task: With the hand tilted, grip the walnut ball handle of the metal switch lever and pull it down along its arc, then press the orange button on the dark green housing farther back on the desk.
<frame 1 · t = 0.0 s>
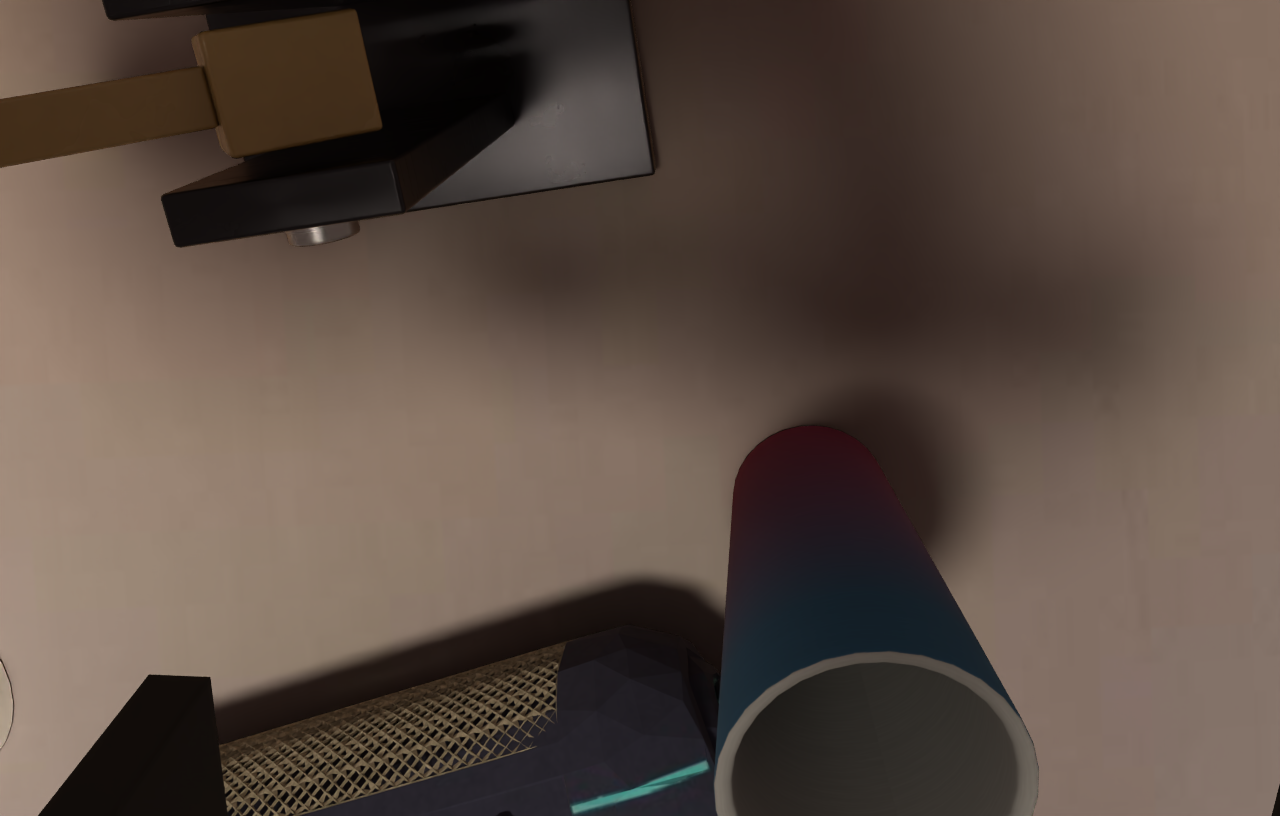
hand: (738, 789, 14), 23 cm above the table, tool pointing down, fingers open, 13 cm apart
portable speaker: (435, 750, 43), on the table
cup: (808, 492, 39), on the table
switch bracket: (432, 46, 34), on the table
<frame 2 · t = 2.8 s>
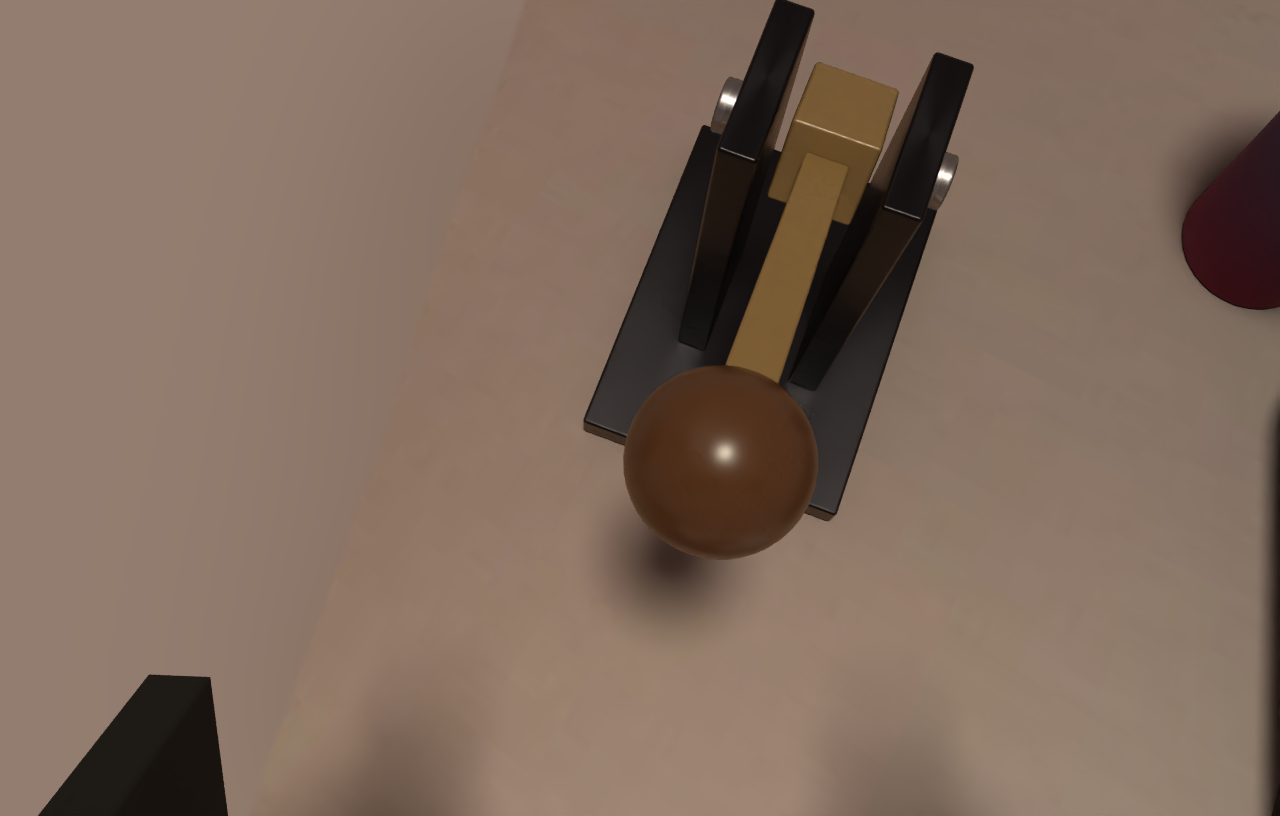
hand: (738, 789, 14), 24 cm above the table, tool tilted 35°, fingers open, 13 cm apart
switch lever: (782, 285, 25), point 15 cm above the table, hinge at 26.0°
cup: (1245, 248, 43), on the table
switch bracket: (761, 322, 41), on the table
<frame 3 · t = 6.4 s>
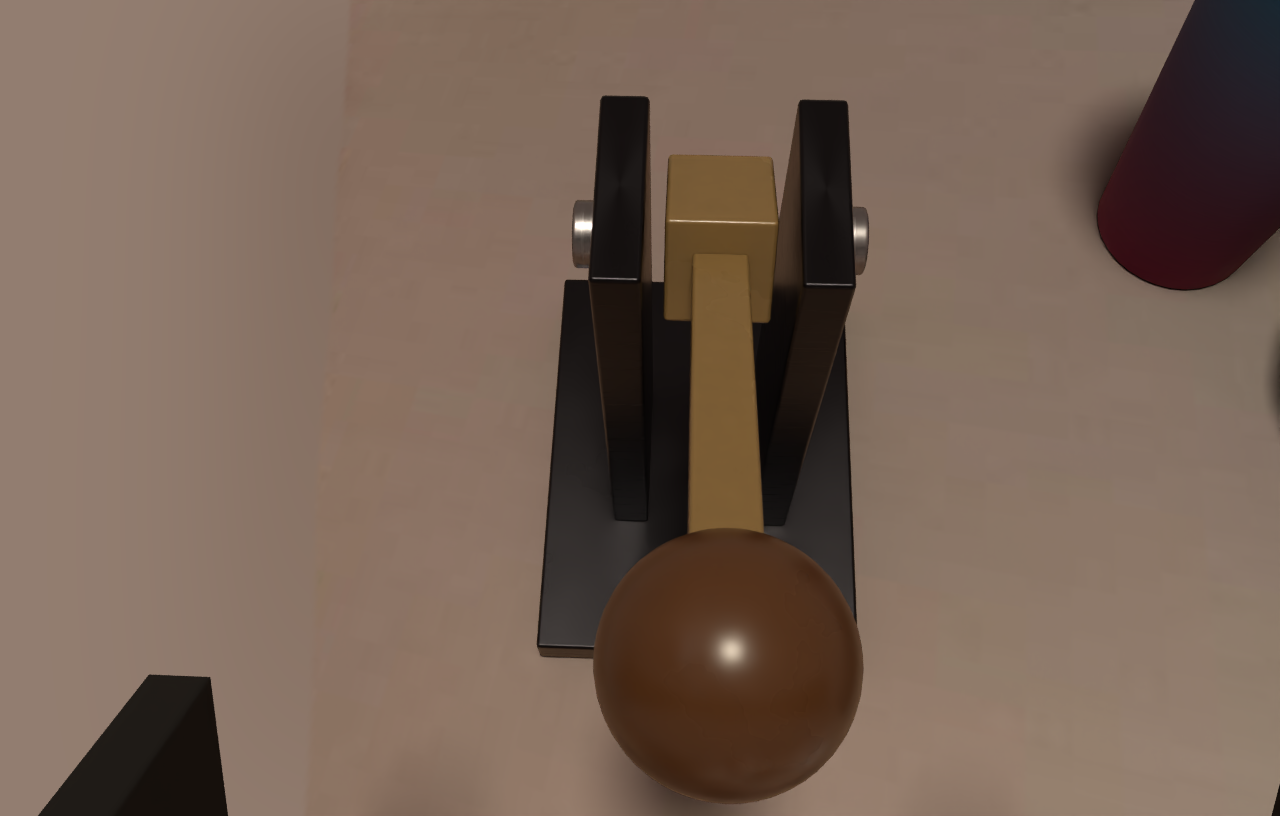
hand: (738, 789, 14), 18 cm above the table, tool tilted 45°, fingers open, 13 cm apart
switch lever: (722, 411, 20), point 15 cm above the table, hinge at 26.0°
cup: (1169, 229, 39), on the table
switch bracket: (699, 468, 36), on the table
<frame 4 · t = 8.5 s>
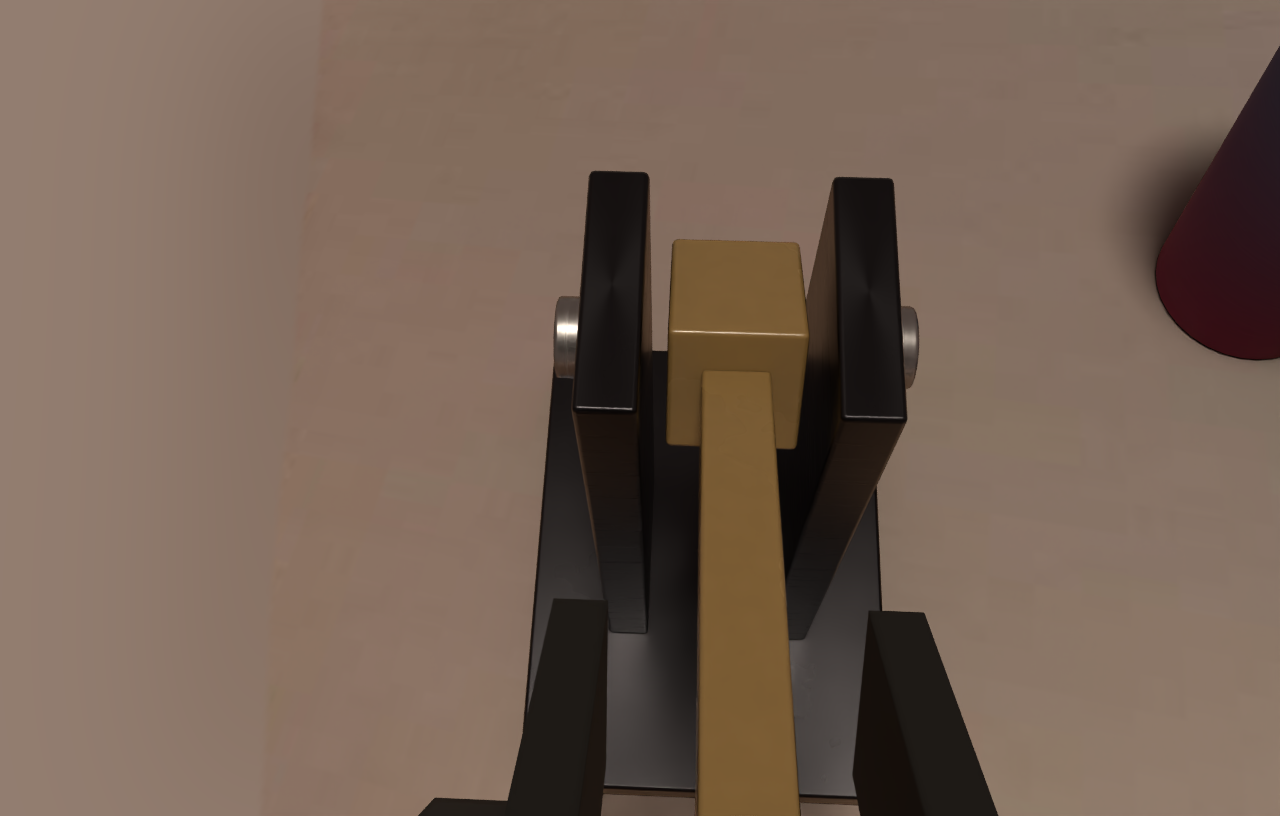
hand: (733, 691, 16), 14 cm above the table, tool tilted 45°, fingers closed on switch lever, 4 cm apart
switch lever: (740, 596, 15), point 15 cm above the table, hinge at 26.0°, touching gripper
cup: (1237, 289, 35), on the table
switch bracket: (706, 567, 31), on the table
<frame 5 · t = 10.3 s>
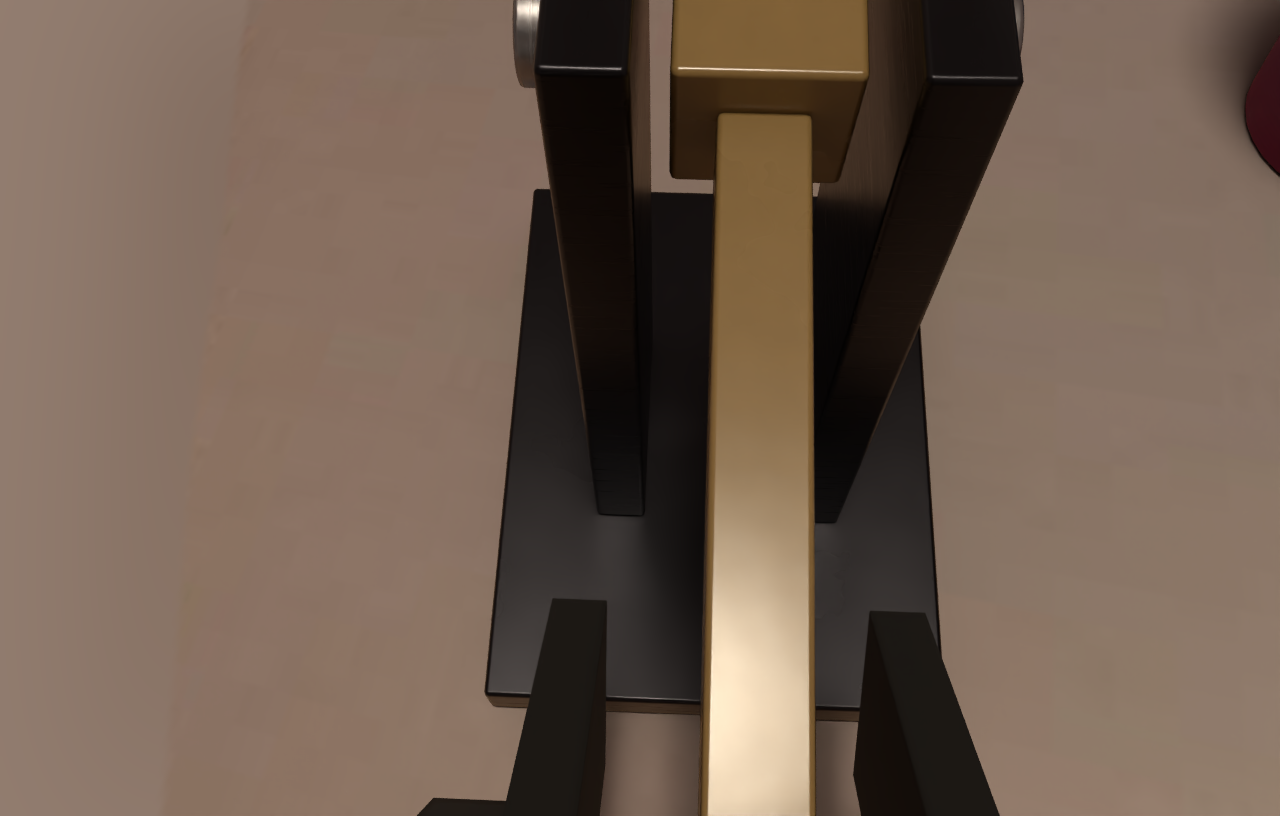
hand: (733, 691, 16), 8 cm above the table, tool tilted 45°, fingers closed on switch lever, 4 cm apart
switch lever: (758, 483, 12), point 12 cm above the table, hinge at -6.5°, touching gripper
switch bracket: (715, 444, 26), on the table
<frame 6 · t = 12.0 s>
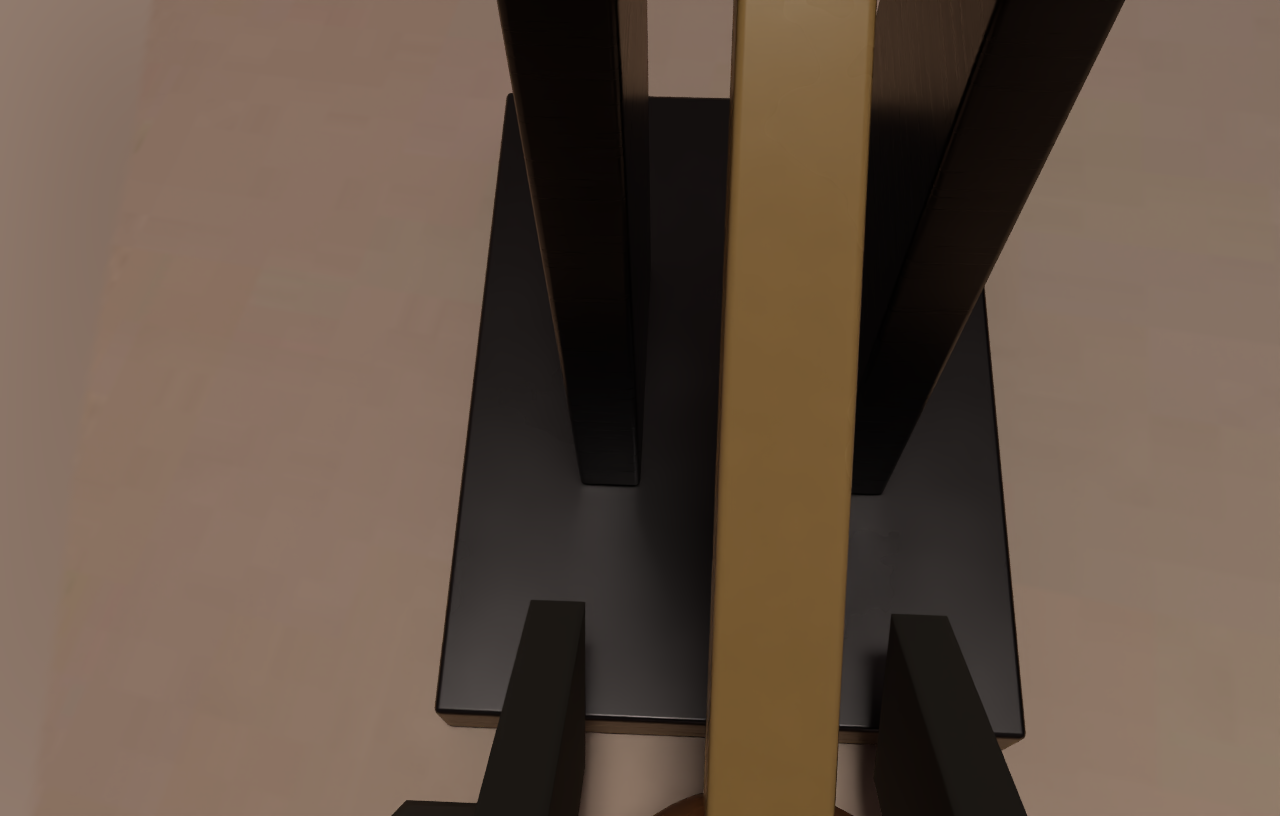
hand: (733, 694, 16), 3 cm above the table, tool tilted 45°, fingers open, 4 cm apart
switch lever: (783, 417, 10), point 10 cm above the table, hinge at -31.3°
switch bracket: (728, 401, 21), on the table
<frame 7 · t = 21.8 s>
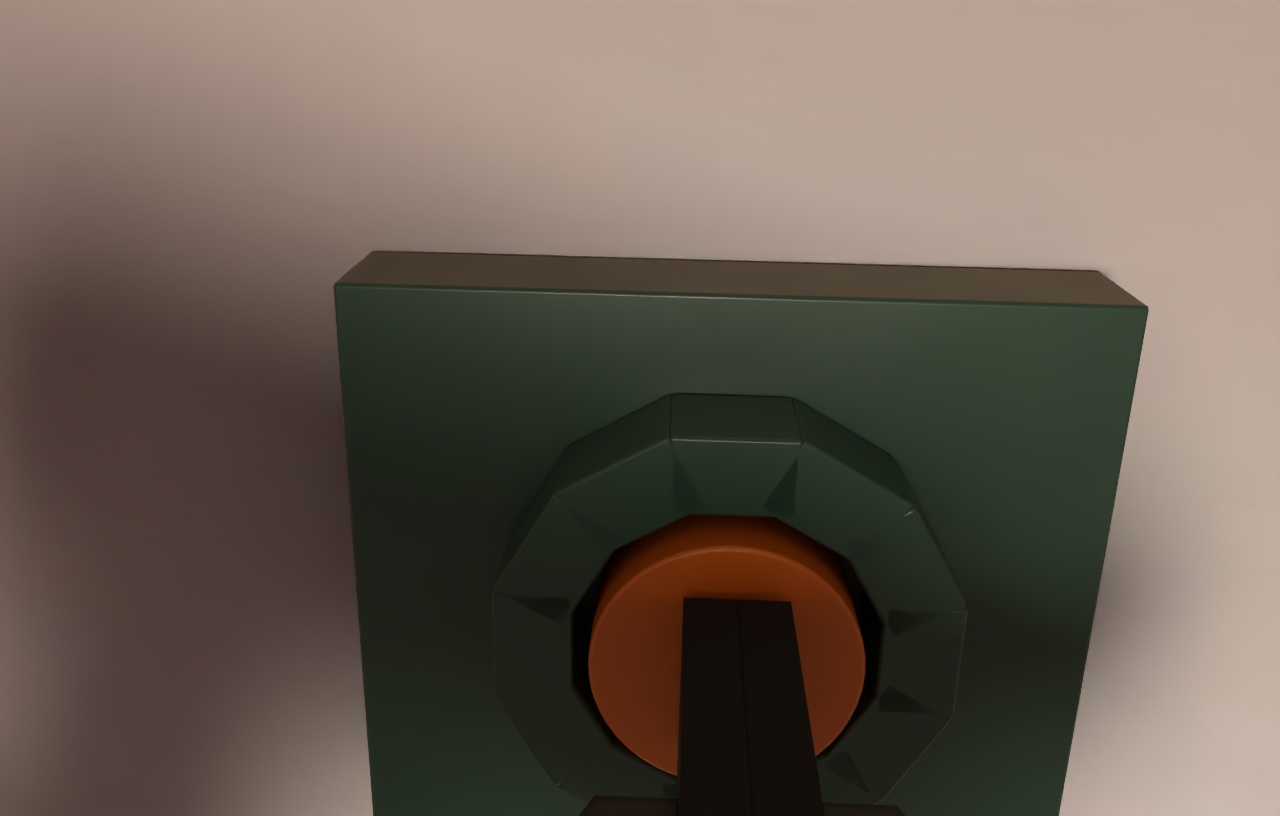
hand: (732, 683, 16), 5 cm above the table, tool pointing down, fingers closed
button: (724, 639, 17), point 4 cm above the table, slide at -0.8 cm, touching gripper
button box: (718, 533, 21), on the table
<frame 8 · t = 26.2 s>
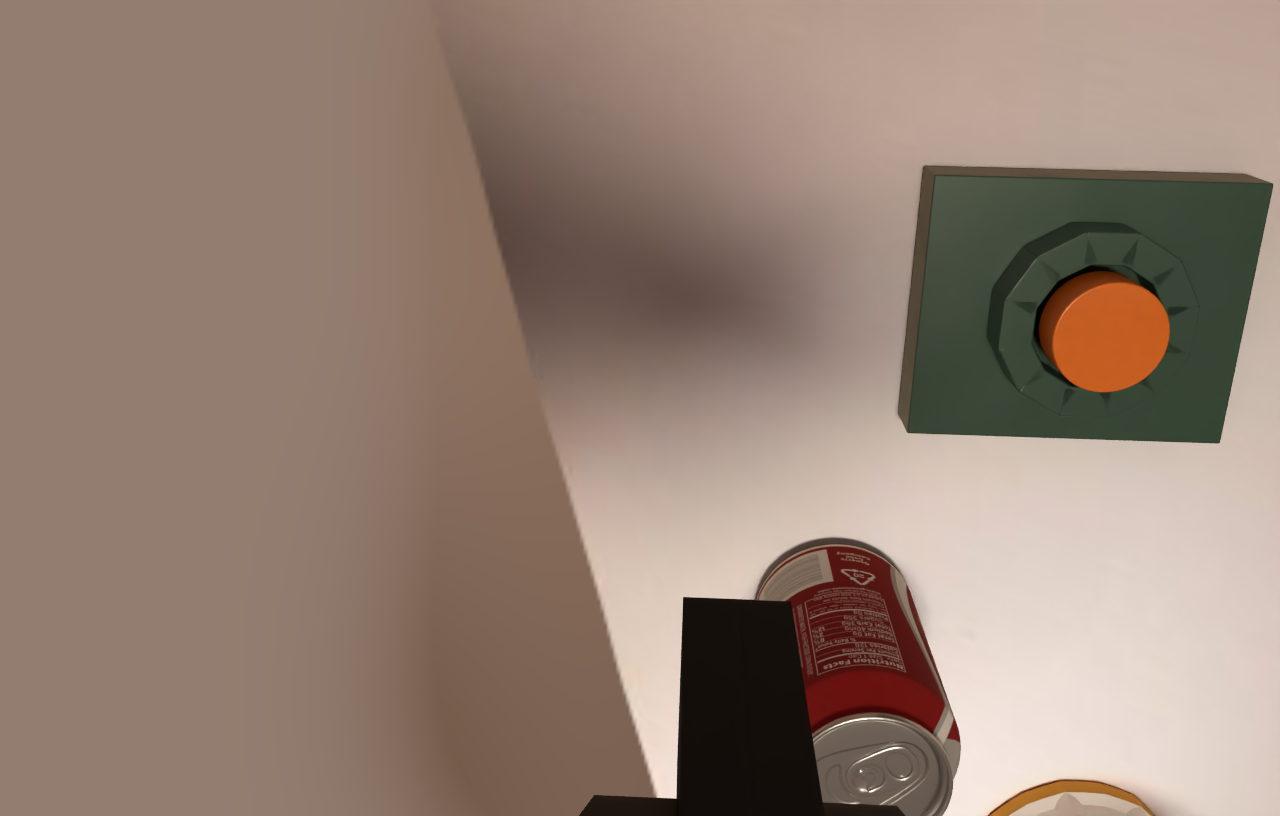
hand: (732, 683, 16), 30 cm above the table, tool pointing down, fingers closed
soda can: (830, 604, 50), on the table
button: (1102, 331, 41), point 4 cm above the table, slide at 0.1 cm
button box: (1064, 299, 45), on the table
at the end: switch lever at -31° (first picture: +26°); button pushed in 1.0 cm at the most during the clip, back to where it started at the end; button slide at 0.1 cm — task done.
